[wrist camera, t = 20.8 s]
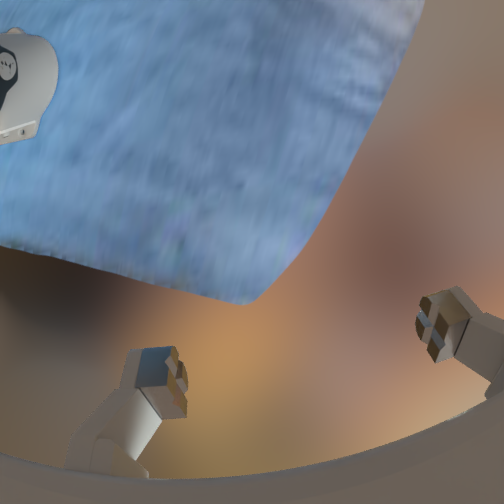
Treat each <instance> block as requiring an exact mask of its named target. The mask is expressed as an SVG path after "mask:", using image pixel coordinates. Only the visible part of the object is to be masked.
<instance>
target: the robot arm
mask: <svg viewBox="0 0 504 504" xmlns="http://www.w3.org/2000/svg"><path fill="white" fill-rule="evenodd" d="M57 80H58V61H57V57H56V54H55V51H54V49H53V47H52V46H51V44H50V43H49V42H48V41H47V40H45V39H44V38H42V37H39V36H34V35H28V34H26V33H25V32H24V31H23V30H22V29H20V28H12V29H10V30H9V31H8V32H7V33H3V34H0V145H2V144H6V143H11V142H15V141H20V140H25V139H30V138H33V137H34V136H35V135H36V133H37V130H38V127H39V122H40V118H41V116H42V114H43V113H44V111H45V110H46V108H47V107H48V105H49V103H50V101H51V99H52V97H53V95H54V92H55V89H56V85H57ZM23 130H24V131H25V133H23ZM419 306H420V308H421V309H422V310H421V311H420V312H419V313H418V315H417V317H416V322H415V325H416V332H417V334H418V337H419V338H420V340H421V341H423V342H425V343H426V344H428V345H427V351H428V353H429V354H430V356H431V357H432V359H433V361H434V362H435V363H438V362H441V361H443V360H446V359H449V358H452V357H454V356H455V357H454V358H456V359H457V360H458V361H460V362H462V363H463V364H465V365H466V366H467V367H469V368H470V369H472V370H473V371H475V372H476V373H478V374H479V375H481V376H482V377H484V378H485V379H487V380H488V381H490V382H491V384H490V385H489V387H488V389H487V390H486V392H485V397H486V399H487V400H486V401H484V402H482V403H480V404H478V405H476V406H474V407H473V408H471V409H469V410H467V411H465V412H463V413H461V414H459V415H457V416H455V417H453V418H451V419H448V420H446V421H444V422H442V423H439V424H437V425H435V426H432V427H430V428H428V429H426V430H423V431H420V432H418V433H415V434H413V435H410V436H408V437H405V438H402V439H400V440H397V441H394V442H391V443H388V444H385V445H382V446H379V447H376V448H374V449H370V450H367V451H364V452H360V453H356V454H353V455H349V456H346V457H342V458H338V459H334V460H330V461H326V462H321V463H317V464H312V465H307V466H303V467H297V468H292V469H286V470H280V471H274V472H268V473H260V474H252V475H244V476H243V475H242V476H232V477H220V478H200V479H153V478H148V477H149V472H147V470H146V469H145V468H143V467H142V466H141V465H140V464H139V463H137V462H136V459H137V458H138V456H139V455H140V453H141V452H142V450H143V449H144V447H145V446H146V444H147V443H148V441H149V440H150V438H151V437H152V435H153V434H154V432H155V431H156V429H157V428H158V426H159V425H160V423H161V422H162V419H176V418H186V417H187V416H186V415H187V399H186V398H185V396H184V394H185V392H186V391H187V390H188V377H187V372H186V368H185V366H184V364H183V362H181V361H180V360H178V357H179V353H178V351H177V349H176V347H175V346H167V347H155V348H144V349H131V350H130V351H129V352H128V354H127V358H126V362H125V366H124V370H123V374H122V378H121V382H120V387H119V389H115V390H114V391H113V392H112V393H111V394H110V395H109V396H108V397H107V398H106V399H105V400H104V401H103V402H102V403H101V404H100V406H99V407H98V408H97V409H96V410H95V411H94V412H93V413H92V414H91V415H90V416H89V417H88V418H87V419H86V420H85V421H84V422H83V423H82V424H81V426H79V428H77V430H76V431H75V432H74V433H73V434H72V435H71V439H70V443H69V447H68V451H67V456H66V461H65V465H64V468H59V467H53V466H49V465H44V464H40V463H36V462H32V461H28V460H24V459H21V458H17V457H13V456H10V455H7V454H4V453H1V452H0V504H504V320H502V319H500V318H498V317H496V316H493V315H491V314H489V313H483V312H482V311H481V310H480V309H479V308H478V307H477V305H476V304H475V303H474V302H473V301H472V300H471V299H470V297H469V296H468V295H467V294H466V293H465V292H464V291H463V290H462V289H461V288H460V287H458V286H455V287H452V288H449V289H446V290H442V291H439V292H436V293H433V294H430V295H426V296H423V297H422V298H421V300H420V304H419Z"/></svg>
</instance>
